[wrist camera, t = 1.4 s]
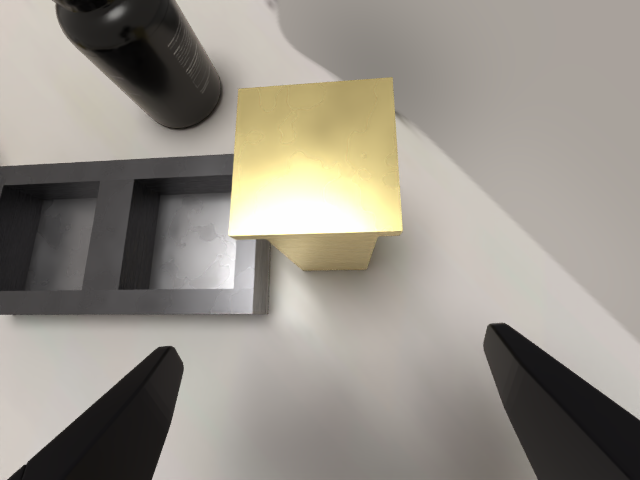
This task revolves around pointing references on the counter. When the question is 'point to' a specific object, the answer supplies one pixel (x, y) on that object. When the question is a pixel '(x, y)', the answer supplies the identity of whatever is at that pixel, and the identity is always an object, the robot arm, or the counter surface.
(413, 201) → the counter surface
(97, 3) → the supplement bottle
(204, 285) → the compartment tray
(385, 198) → the brass block
